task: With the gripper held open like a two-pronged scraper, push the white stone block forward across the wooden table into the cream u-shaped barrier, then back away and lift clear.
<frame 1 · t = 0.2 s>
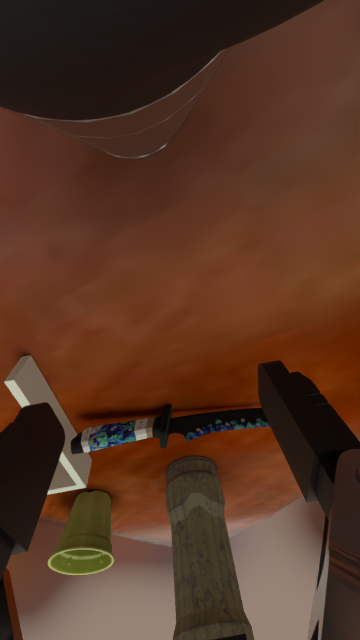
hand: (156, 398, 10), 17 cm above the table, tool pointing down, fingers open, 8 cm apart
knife: (190, 410, 36), on the table
plant pot: (93, 496, 45), on the table
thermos: (190, 469, 44), on the table
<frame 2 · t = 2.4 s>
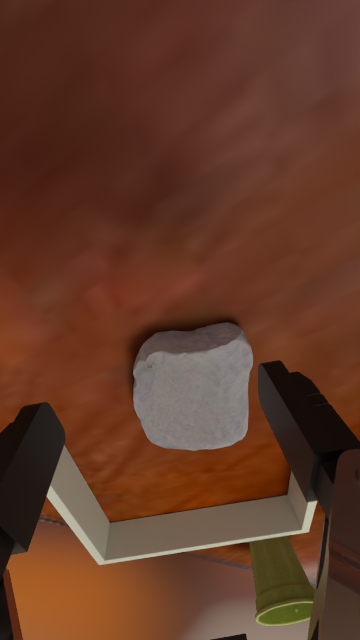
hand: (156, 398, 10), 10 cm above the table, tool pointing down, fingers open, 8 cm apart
cream u-shaped barrier: (190, 468, 30), on the table
stone block: (186, 376, 24), on the table
plant pot: (265, 533, 41), on the table
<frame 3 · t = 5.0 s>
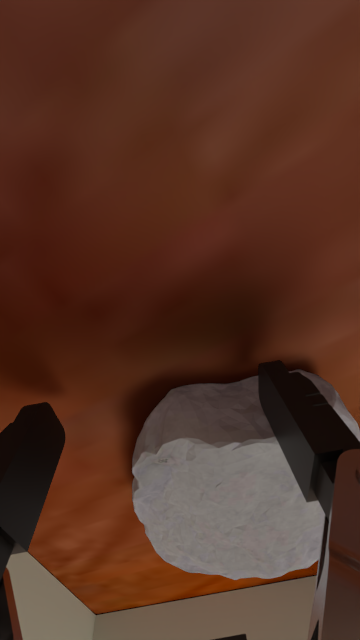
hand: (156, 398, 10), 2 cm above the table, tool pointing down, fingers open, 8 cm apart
cream u-shaped barrier: (209, 548, 20), on the table
stone block: (218, 447, 15), on the table
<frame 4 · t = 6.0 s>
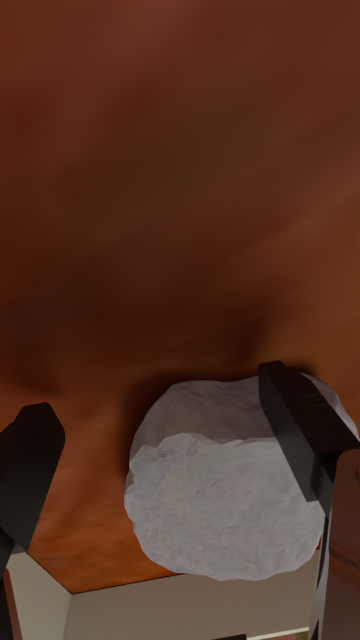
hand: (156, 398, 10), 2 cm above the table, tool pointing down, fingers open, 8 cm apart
cream u-shaped barrier: (198, 511, 17), on the table
stone block: (212, 447, 15), on the table, touching gripper
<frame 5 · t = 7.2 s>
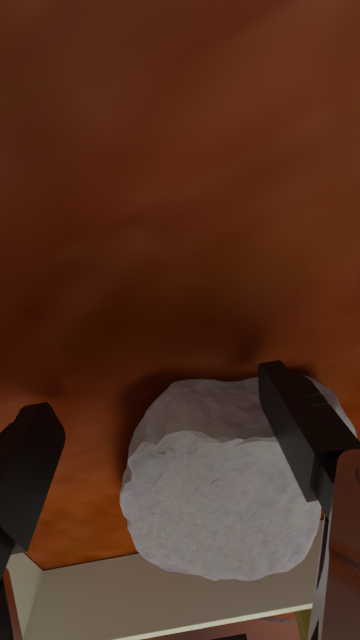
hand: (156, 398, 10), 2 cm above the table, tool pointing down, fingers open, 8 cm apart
cream u-shaped barrier: (183, 464, 14), on the table
stone block: (209, 446, 15), on the table
plant pot: (316, 573, 25), on the table
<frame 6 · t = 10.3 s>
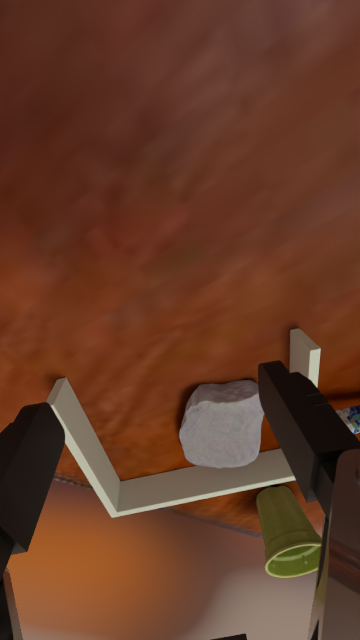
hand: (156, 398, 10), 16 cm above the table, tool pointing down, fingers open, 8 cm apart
cream u-shaped barrier: (192, 416, 32), on the table
stone block: (215, 413, 33), on the table
plant pot: (272, 493, 43), on the table
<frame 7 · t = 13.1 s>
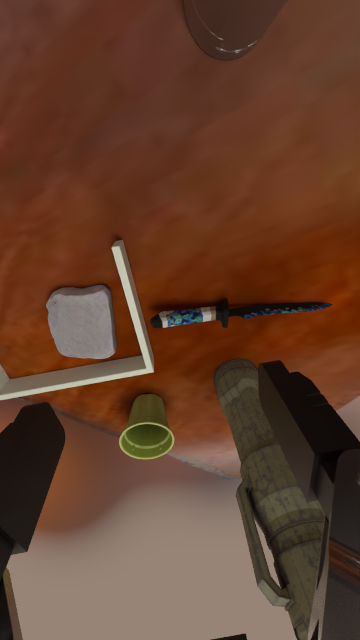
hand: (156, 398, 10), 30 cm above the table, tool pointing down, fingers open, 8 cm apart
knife: (241, 306, 43), on the table
cream u-shaped barrier: (56, 318, 40), on the table
stone block: (84, 317, 41), on the table
plant pot: (148, 402, 51), on the table
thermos: (234, 375, 50), on the table
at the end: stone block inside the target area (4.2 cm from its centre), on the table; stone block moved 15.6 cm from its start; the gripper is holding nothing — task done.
